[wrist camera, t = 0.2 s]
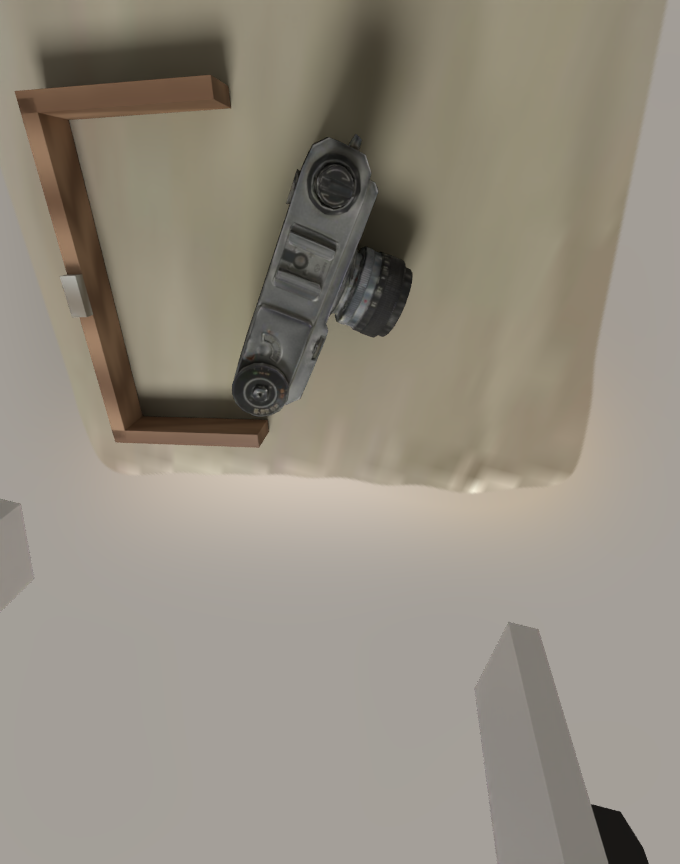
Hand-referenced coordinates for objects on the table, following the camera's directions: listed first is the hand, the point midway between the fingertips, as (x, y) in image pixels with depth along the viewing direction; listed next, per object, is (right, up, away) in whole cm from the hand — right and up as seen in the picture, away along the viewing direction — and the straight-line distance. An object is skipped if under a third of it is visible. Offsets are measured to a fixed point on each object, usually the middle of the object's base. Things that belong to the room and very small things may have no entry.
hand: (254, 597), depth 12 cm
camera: (+2, +16, +23) cm, 28 cm away
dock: (-11, +16, +24) cm, 31 cm away
